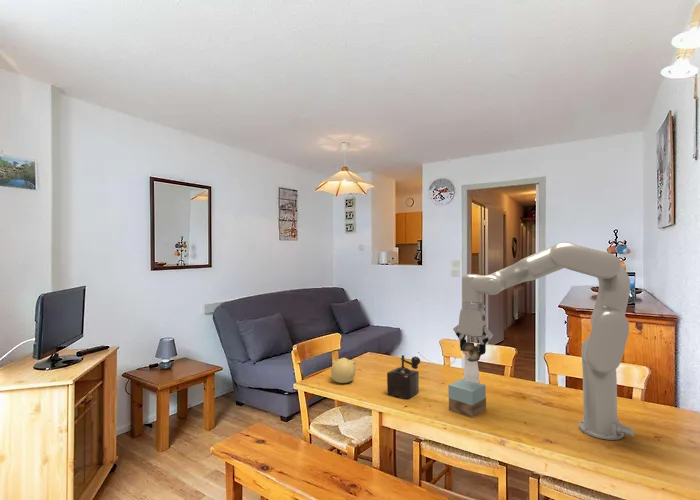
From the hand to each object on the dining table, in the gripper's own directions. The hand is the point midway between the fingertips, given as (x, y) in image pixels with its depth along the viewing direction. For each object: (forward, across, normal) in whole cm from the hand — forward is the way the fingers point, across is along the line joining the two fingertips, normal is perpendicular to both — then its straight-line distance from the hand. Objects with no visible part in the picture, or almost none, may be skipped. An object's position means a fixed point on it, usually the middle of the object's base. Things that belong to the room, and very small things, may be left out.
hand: (472, 351), depth 146 cm
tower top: (+18, +1, +2) cm, 18 cm away
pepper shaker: (+23, +13, -20) cm, 33 cm away
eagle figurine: (+2, -1, +2) cm, 3 cm away
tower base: (+23, +1, +2) cm, 23 cm away
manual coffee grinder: (+23, +27, +6) cm, 36 cm away
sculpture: (+23, +60, +14) cm, 66 cm away
